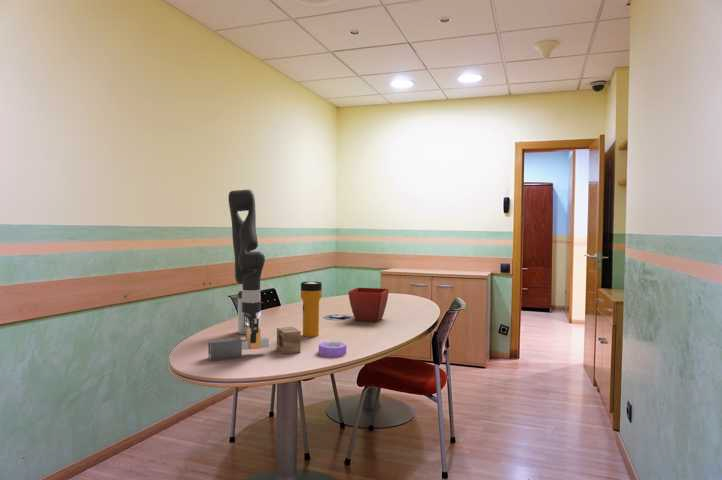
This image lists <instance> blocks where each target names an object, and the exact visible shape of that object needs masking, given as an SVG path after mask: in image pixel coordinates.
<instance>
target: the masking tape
mask: <svg viewBox="0 0 722 480" xmlns="http://www.w3.org/2000/svg"><path fill="white" fill-rule="evenodd" d="M347 346H348V345H347V343H345V342H341V341H333V340H331V341H323V342H319V344H318V355H320V356H323V357H330V358H332V357H334V358H335V357H336V358H337V357H343V356H345V355H346V354H347Z"/></svg>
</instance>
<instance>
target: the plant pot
mask: <svg viewBox="0 0 722 480" xmlns="http://www.w3.org/2000/svg"><path fill="white" fill-rule="evenodd" d="M389 291H390V289H389V288H378V287H377V288H375V287H356V288H353V289H351V290H349V291H348V298H349V303H350V308H351V312H352V315H353V318H354V320H355V321H356V322H357V321H358V322H369V323H370V322H372V323H377V322H379V321H380V320H382V319H383V316H384V315H385V311H386V308H387V303H388V297H389Z"/></svg>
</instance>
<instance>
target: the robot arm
mask: <svg viewBox="0 0 722 480" xmlns="http://www.w3.org/2000/svg"><path fill="white" fill-rule="evenodd" d="M228 206H229V207H228V208H229V212H230V219H231V232H232V234H231V235H232V246H233V254H234V279H235V282H236V283H237V284H241V285H242V290H240V291H238V294H237V333H238V335H239V334H240V335H246V328H247V327H248V328H249V329H250V343H256V334H257V333H258V328H259V326H260V325H259V321H260V320H259V318H258V313H260V312H262V311H261V310H262V309H261V306H262V305H261V303H262V300H261V299H262V296H261V294H262V293H261V278H262V272H263V269H264V266H265V261H266V257H265V254H264V253H263V252H262V251H255V250H256V249H257V248H258V245H259V242H258V236H257V235H258V234H257V228H256V227H257V226H256V224H257V223H256V220H257V219H256V214H257V213H256V201H255V194H254V191H253V190H252V189H239V190H230V191H229V193H228ZM246 211H247V215H246V217H245V219H244V220H243V219H242V218H241V216H240V214H239V213H238V212H246ZM254 329H255V330H254Z"/></svg>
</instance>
